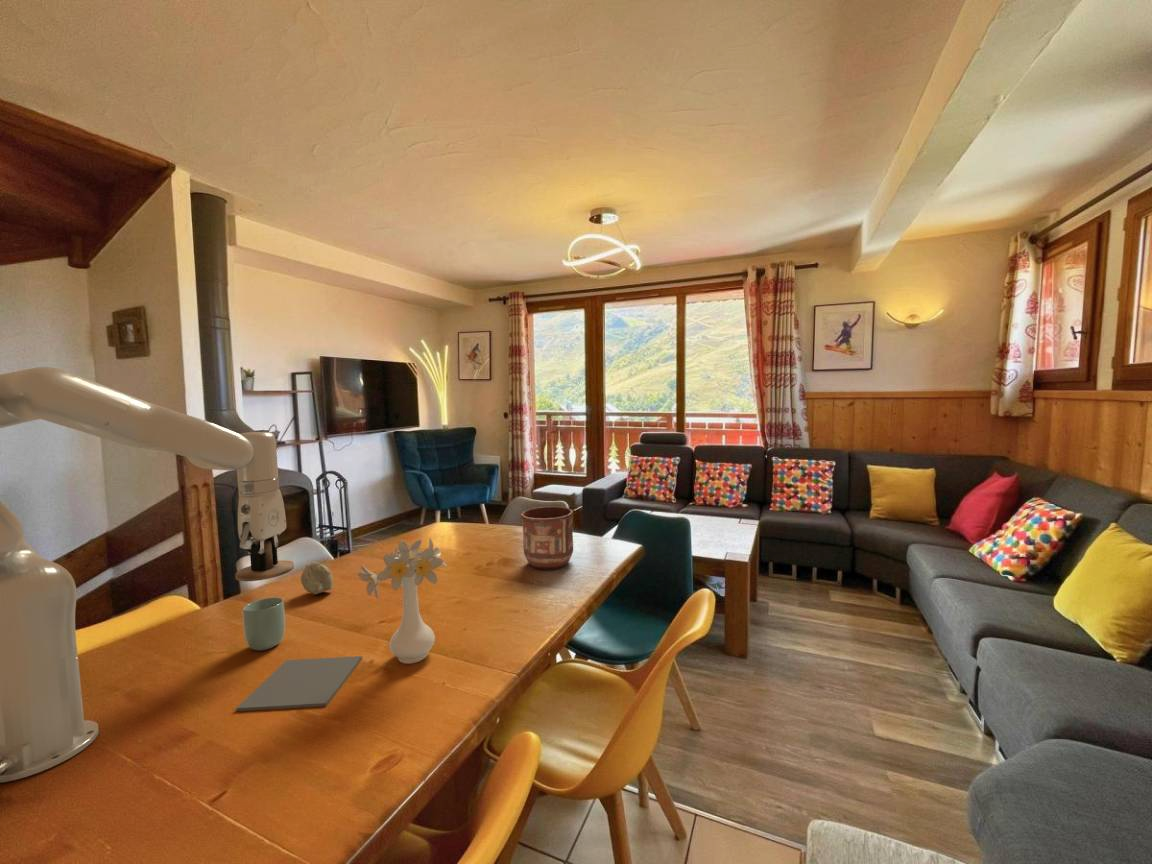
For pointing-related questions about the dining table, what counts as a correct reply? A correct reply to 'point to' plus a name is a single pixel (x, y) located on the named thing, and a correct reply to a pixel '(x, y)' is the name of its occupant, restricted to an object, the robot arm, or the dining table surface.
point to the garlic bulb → (317, 578)
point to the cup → (264, 623)
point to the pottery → (548, 536)
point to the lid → (271, 571)
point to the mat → (301, 684)
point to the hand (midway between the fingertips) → (264, 566)
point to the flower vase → (408, 596)
